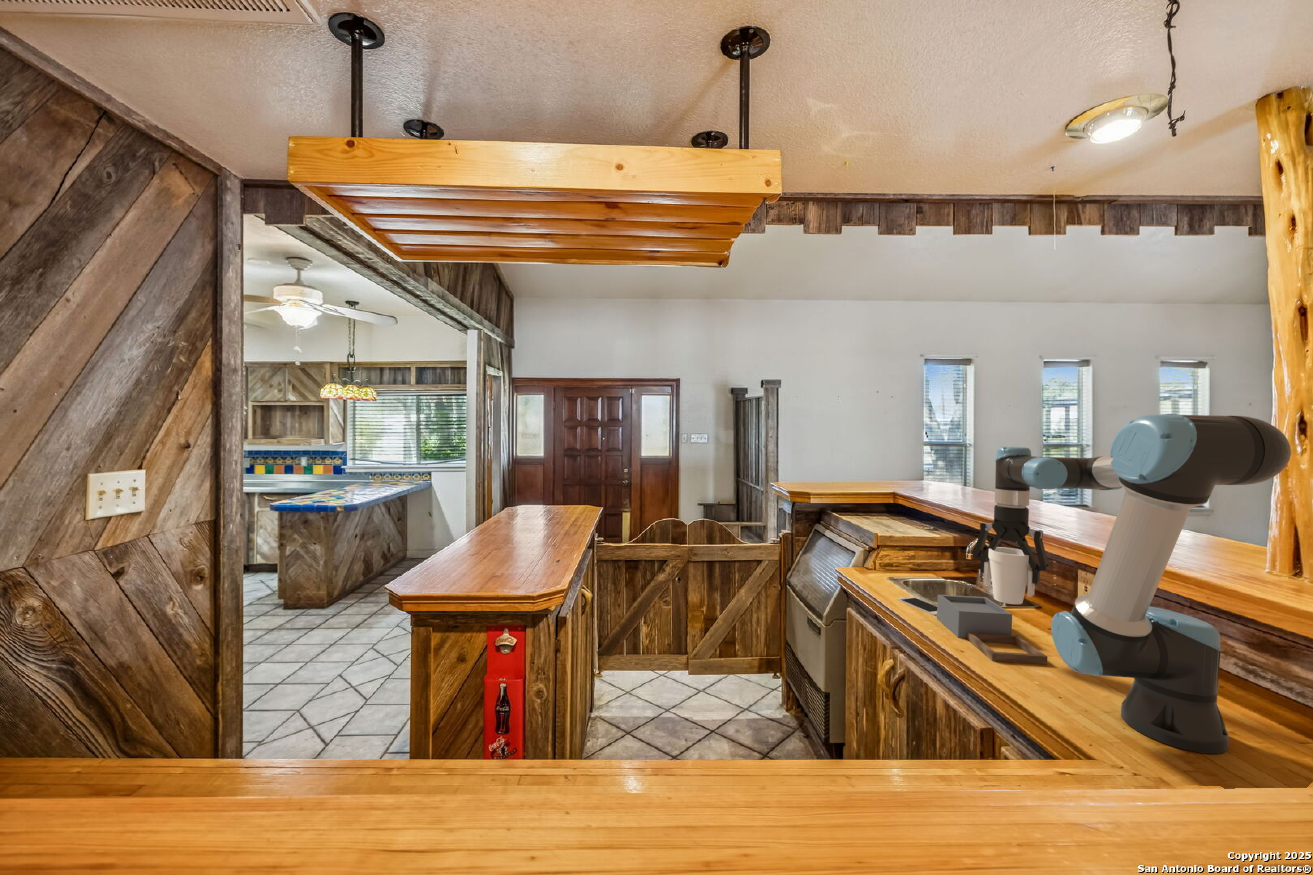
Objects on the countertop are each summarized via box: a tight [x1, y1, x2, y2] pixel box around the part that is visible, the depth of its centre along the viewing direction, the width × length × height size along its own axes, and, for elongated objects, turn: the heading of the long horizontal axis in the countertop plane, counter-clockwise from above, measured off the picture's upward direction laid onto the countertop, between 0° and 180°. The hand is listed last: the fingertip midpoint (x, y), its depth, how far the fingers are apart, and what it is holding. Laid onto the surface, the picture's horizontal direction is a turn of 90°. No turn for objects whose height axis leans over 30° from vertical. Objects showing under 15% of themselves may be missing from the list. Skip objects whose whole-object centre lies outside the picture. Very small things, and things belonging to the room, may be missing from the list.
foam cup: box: [988, 546, 1031, 605], centre depth 137 cm, size 10×9×13 cm
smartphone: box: [896, 595, 937, 617], centre depth 171 cm, size 7×16×1 cm, turn 20°
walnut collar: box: [966, 632, 1048, 665], centre depth 138 cm, size 13×13×2 cm
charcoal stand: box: [936, 594, 1013, 639], centre depth 152 cm, size 14×14×8 cm
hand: (1008, 590), depth 137 cm, fingers closed on foam cup, 9 cm apart
